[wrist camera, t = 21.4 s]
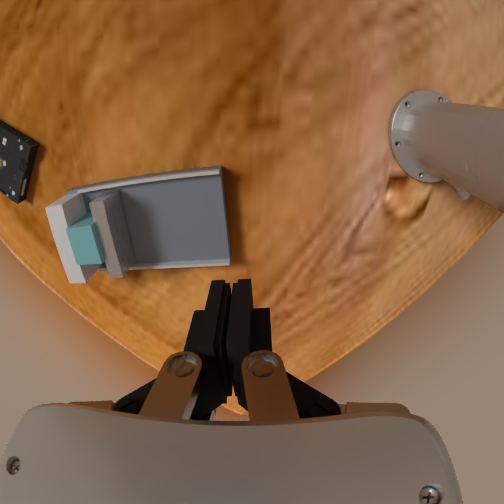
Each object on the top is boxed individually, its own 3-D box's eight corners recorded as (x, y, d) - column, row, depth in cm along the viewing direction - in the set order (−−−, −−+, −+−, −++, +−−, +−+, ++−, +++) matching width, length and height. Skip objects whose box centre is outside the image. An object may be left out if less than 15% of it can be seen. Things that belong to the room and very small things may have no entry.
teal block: (110, 209, 35) (90, 225, 30) (119, 243, 37) (101, 263, 32) (86, 212, 35) (65, 228, 30) (95, 245, 37) (77, 264, 32)
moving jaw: (119, 189, 34) (102, 200, 30) (135, 260, 38) (123, 277, 34) (105, 191, 34) (89, 202, 30) (123, 261, 38) (110, 278, 34)
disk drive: (42, 141, 33) (-9, 112, 29) (31, 144, 30) (-19, 115, 27) (28, 199, 37) (-20, 166, 33) (17, 205, 34) (-30, 170, 31)
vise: (221, 165, 34) (213, 178, 28) (231, 254, 40) (226, 282, 34) (72, 187, 35) (44, 203, 29) (92, 261, 41) (70, 286, 35)
